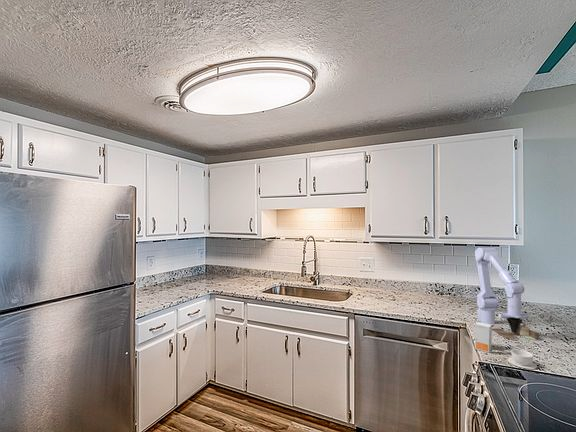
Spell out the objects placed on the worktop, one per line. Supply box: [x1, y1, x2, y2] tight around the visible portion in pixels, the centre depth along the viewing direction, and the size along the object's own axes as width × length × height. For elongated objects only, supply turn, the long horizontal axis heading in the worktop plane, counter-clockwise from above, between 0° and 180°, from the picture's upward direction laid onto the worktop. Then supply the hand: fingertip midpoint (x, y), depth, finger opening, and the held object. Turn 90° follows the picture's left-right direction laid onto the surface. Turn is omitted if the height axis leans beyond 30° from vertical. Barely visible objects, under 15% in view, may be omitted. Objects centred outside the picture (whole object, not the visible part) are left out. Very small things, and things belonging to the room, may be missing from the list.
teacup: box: [506, 348, 538, 370], centre depth 130 cm, size 10×10×5 cm
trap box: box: [492, 328, 539, 341], centre depth 160 cm, size 14×15×4 cm
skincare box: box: [474, 321, 493, 354], centre depth 143 cm, size 6×4×12 cm
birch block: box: [517, 324, 531, 337], centre depth 159 cm, size 4×4×4 cm
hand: (513, 332), depth 160 cm, fingers closed
